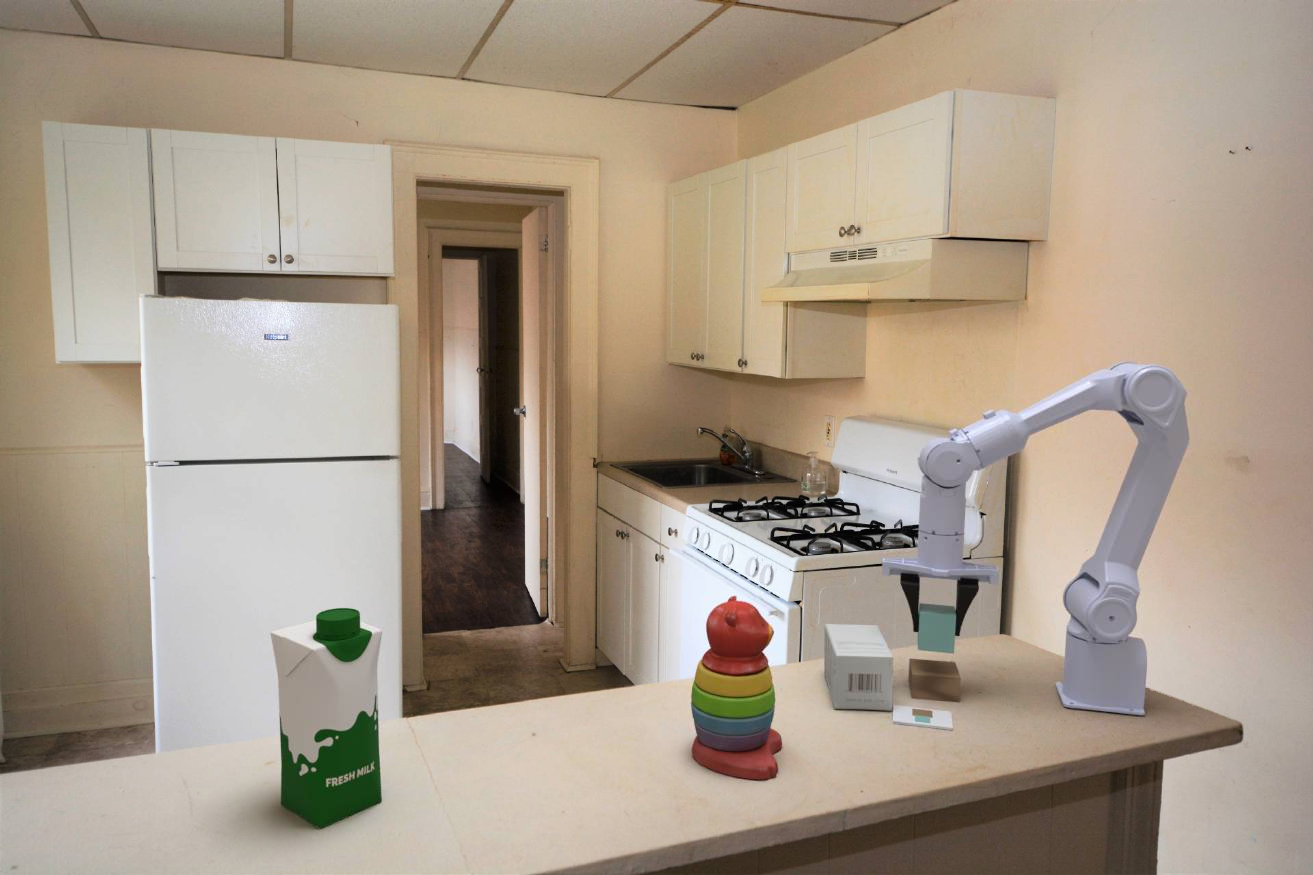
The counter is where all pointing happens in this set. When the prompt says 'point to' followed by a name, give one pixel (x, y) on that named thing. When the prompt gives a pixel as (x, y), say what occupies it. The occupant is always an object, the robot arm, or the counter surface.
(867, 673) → the supplement box
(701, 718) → the stacking bear
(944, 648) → the teal block
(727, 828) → the counter surface
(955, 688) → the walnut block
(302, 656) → the milk carton
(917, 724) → the page
